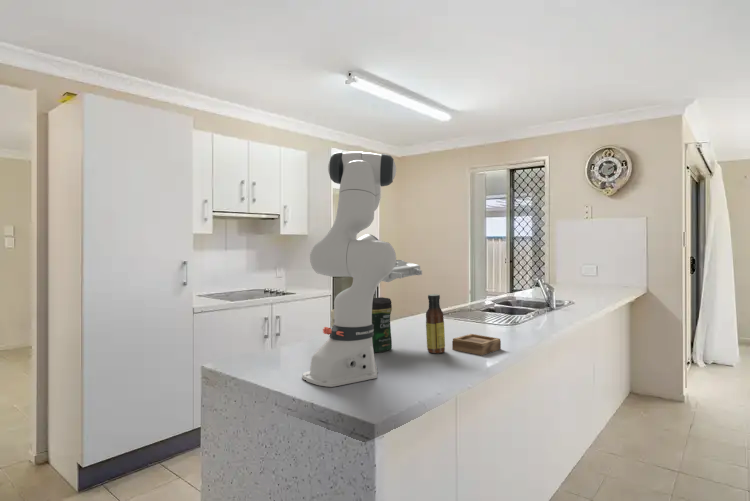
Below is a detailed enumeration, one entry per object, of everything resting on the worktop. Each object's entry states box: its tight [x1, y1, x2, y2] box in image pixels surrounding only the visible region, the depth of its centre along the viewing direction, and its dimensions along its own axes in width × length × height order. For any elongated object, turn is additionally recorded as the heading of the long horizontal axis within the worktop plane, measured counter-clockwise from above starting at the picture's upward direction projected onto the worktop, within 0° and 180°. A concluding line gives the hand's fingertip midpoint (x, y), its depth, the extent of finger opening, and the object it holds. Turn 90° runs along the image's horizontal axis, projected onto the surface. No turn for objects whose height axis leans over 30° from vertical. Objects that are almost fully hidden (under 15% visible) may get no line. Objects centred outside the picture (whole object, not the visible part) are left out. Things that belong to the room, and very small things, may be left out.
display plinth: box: [452, 333, 502, 356], centre depth 162 cm, size 12×12×4 cm
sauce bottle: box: [425, 293, 446, 354], centre depth 159 cm, size 6×6×20 cm
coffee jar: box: [372, 296, 393, 353], centre depth 162 cm, size 10×8×19 cm
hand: (411, 274), depth 166 cm, fingers open, 8 cm apart
